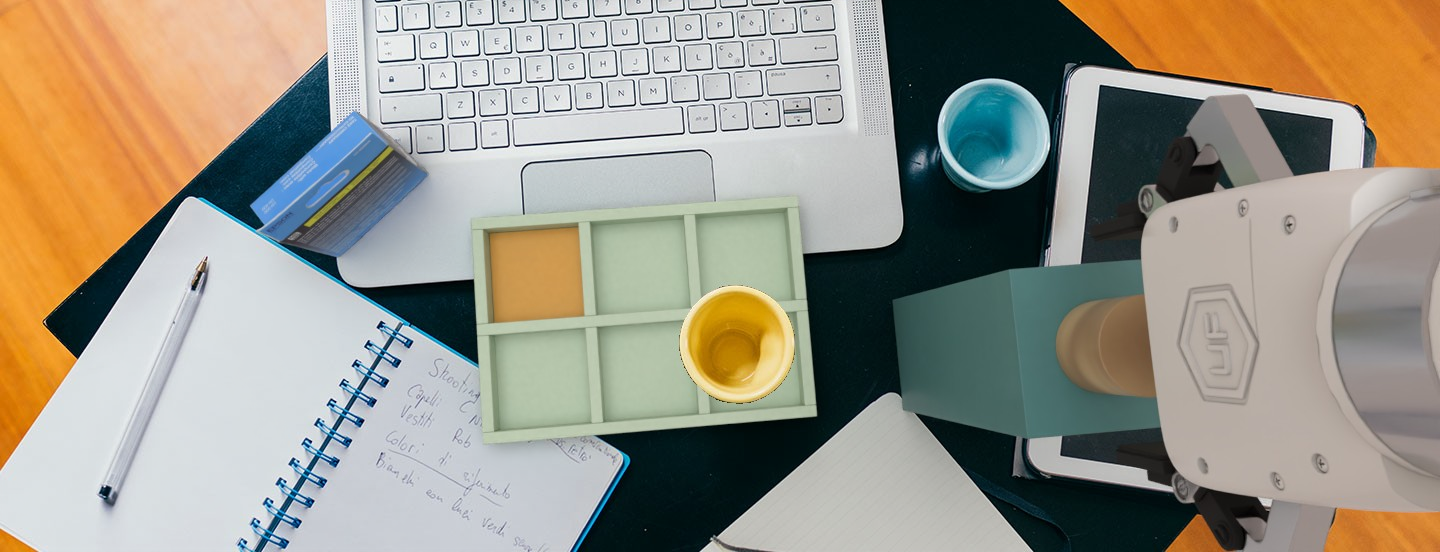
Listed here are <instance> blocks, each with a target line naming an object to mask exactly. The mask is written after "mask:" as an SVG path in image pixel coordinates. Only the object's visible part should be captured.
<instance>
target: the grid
mask: <svg viewBox="0 0 1440 552" xmlns="http://www.w3.org/2000/svg"><path fill="white" fill-rule="evenodd" d="M801 228H802V227H801V219H800V208H799V196H798V195H788V196H775V197H760V198H746V199H732V200H717V201H716V200H715V201H700V202H688V203H687V202H686V203H675V204H674V203H673V204H659V205H657V204H656V205H645V206H644V205H643V206H642V205H641V206H629V207H616V208H602V209H586V210H572V211H558V212H542V213H541V212H540V213H528V214H515V215H499V216H485V217H471V218H470V229H471V246H472V247H471V248H472V265H473V268H472V269H473V283H474V284H473V285H474V301H475V302H474V303H475V321H476V336H477V338H476V341H477V358H478V360H477V361H478V373H479V374H478V377H479V396H480V397H479V398H480V413H481V414H480V415H481V431H482V445H496V444H508V443H509V444H510V443H518V442H519V443H521V442H529V441H530V442H531V441H545V440H556V439H566V438H567V439H568V438H578V437H589V436H602V435H615V434H623V433H624V434H625V433H626V434H627V433H637V432H649V431H660V430H673V429H682V428H683V429H685V428H696V427H706V426H718V425H719V426H720V425H728V424H743V423H744V424H745V423H754V422H755V423H756V422H765V421H778V420H779V421H780V420H790V419H803V418H813V417H814V418H815V417H818V410H817V398H816V397H817V396H816V386H815V375H814V364H813V353H812V341H811V331H810V318H809V311H808V310H809V307H808V300H807V298H808V297H807V285H806V274H805V263H804V252H803V241H802V231H801V230H802V229H801ZM728 285H743V286H748V287H752V288H755V289H757V290H760V291H762V292H764V293H766V294H767V295H769V296H770V297H772V298H773V299H774V300H775V301H776V302H777V303H778V304H779V305H780V306H781V308H782V309H783V310H784V311H785V312H786V313H787V315H788V316H789V319H790V321H791V324H792V327H793V330H794V334H795V355H794V360H793V363H792V365H791V369H790V371H789V373H788V374H787V377H786V378H785V380H784V381H783V382H782V384H781V385H780V386H779V387H778V388H777V389H776V390H775V391H773V392H772V393H770V394H769V395H767V396H766V397H764V398H762V399H759V400H757V401H754V402H751V403H743V404H736V403H727V402H722V401H719V400H716V399H715V398H713V397H711V396H709V394H707V393H706V392H704V391H703V390H702V389H701V388H700V387H699V386H698V385H696V384H695V383H694V382H693V380H692V379H691V378H690V376H689V375H688V373H687V371H686V369H685V368H684V365H683V362H682V360H681V356H680V351H679V335H680V331H681V327H682V324H683V321H684V320H685V318H686V317H687V315H688V313H689V312H690V310H691V309H692V307H693V306H694V305H695V304H696V303H697V302H698V301H699V300H700V299H701V298H702V297H703V296H704V295H706V294H707V293H709V292H711V291H713V290H715V289H717V288H719V287H722V286H728Z"/></svg>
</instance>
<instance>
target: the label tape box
mask: <svg viewBox="0 0 1440 552" xmlns="http://www.w3.org/2000/svg"><path fill="white" fill-rule="evenodd" d="M428 175H429V172H428V171H427V170H426V169H425V168H424V167H423V166H422V164H420V162H418V161H417V160H416V159H415V158H414V157H413V156H412V155H411V154H410V153H409V152H408V151H407V150H406V149H405V148H404V147H403V146H402V145H401V144H400V143H399V142H398V141H397V140H396V139H394V138H393V137H392V136H391V135H390V134H388V133H387V132H385V131H384V130H383V129H382V128H380V126H379V125H376V124H375V123H373V122H372V121H371V120H370V119H368V118H367V117H366V116H364V115H363V114H362V113H360V112H359V111H357V110H353V111H352V112H350V113H349V114H348V115H347V116H346V117H345V118H344V119H343V120H342V121H341V122H340V123H339V124H338V125H336V127H334V128H333V129H332V130H331V131H330V132H329V133H328V134H327V135H326V136H325V137H324V138H322V139H321V140H320V141H319V142H318V143H316V145H315V146H314V147H312V148H311V150H309V151H308V152H306V154H304V156H303V157H302V158H300V159H299V160H298V161H297V162H296V163H295V164H293V165H292V167H290V168H289V169H288V170H287V171H286V172H285V173H284V174H282V176H280V177H279V178H278V179H277V180H276V181H275V182H274V183H273V184H272V185H271V186H270V187H268V188H267V189H266V190H265V191H264V192H263V193H262V194H260V196H258V197H257V198H256V199H255V200H254V201H253V202H252V203H250V204H249V207H250V208H251V209H252V211H253V212H254V213H255V215H256V216H257V217H258V218H259V220H260V222H261V223H262V224H263V226H262V227H260V228H258V229H255V233H257V234H259V235H263V236H265V237H267V238H269V239H272V240H274V241H276V242H277V243H280V244H284V245H290V246H294V247H297V248H301V249H305V250H309V251H312V252H316V253H320V254H323V255H327V256H330V257H334V258H339V257H341V256H342V255H343V254H345V252H347V251H348V250H349V249H350V248H351V247H352V246H354V245H355V243H357V242H358V241H359V240H360V239H361V238H362V237H363V236H364V235H365V234H367V233H368V232H369V230H371V229H372V228H373V227H374V226H376V224H377V223H378V222H379V221H381V219H382V218H384V217H385V216H386V215H387V214H388V213H389V212H391V210H392V209H393V208H395V207H396V206H397V205H398V204H399V203H400V202H401V201H402V200H403V199H404V198H406V196H407V195H408V194H409V193H410V192H411V191H412V190H413V189H415V188H416V187H417V186H418V185H419V184H420V183H421V182H422V181H423V180H424V179H426V177H427V176H428Z"/></svg>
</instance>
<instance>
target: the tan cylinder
mask: <svg viewBox="0 0 1440 552" xmlns="http://www.w3.org/2000/svg"><path fill="white" fill-rule="evenodd" d="M1056 354H1057V358H1058V361H1059V364H1060V366H1061V368H1062V370H1063V371H1064V373H1065V374H1066V376H1067V377H1068V378H1069V379H1070V380H1071V381H1072V382H1073V383H1074V384H1076V385H1077V386H1079V387H1080V388H1082V389H1084V390H1087V391H1089V392H1093V393H1100V394H1112V395H1123V396H1135V397H1147V398H1153V397H1157V395H1156V387H1155V380H1154V372H1153V364H1152V356H1151V347H1150V339H1149V331H1148V321H1147V312H1146V303H1145V294H1140V295H1133V296H1125V297H1118V298H1111V299H1103V300H1096V301H1089V302H1086V303H1083V304H1081V305H1079V306H1077V307H1075V308H1074V309H1073V310H1071V311H1070V312H1069V313H1068V314H1067V315H1066V316H1065V318H1064V319H1063V321H1062V322H1061V324H1060V326H1059V329H1058V332H1057V336H1056Z"/></svg>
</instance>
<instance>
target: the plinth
mask: <svg viewBox="0 0 1440 552" xmlns="http://www.w3.org/2000/svg"><path fill="white" fill-rule="evenodd" d="M1140 294H1144V285H1143V274H1142V262H1141V259H1129V260H1127V259H1126V260H1117V261H1115V260H1114V261H1102V262H1101V261H1100V262H1089V263H1077V264H1075V263H1073V264H1061V265H1049V266H1036V267H1034V266H1033V267H1024V268H1023V267H1021V268H1010V269H1005V270H1002V271H998V272H994V273H991V274H987V275H983V276H979V277H975V278H971V279H967V280H964V281H959V282H956V283H952V284H948V285H944V286H941V287H937V288H933V289H930V290H925V291H921V292H917V293H914V294H910V295H907V296H901V297H899V298H895V299H892V311H893V321H894V331H895V340H896V351H897V361H898V362H897V363H898V372H899V383H900V391H901V401H902V402H901V403H902V410H903V411H905V412H910V413H914V414H919V415H922V416H927V417H931V418H936V419H939V420H944V421H948V422H953V423H957V424H960V425H961V424H962V425H965V426H966V425H967V426H969V427H970V426H971V427H974V428H979V429H984V430H988V431H992V432H996V433H1001V434H1006V435H1008V436H1014V437H1018V438H1022V439H1025V440H1026V439H1027V440H1031V439H1043V438H1044V439H1045V438H1055V437H1067V436H1079V435H1089V434H1101V433H1113V432H1123V431H1133V430H1146V429H1147V430H1148V429H1156V428H1161V424H1160V417H1159V410H1158V403H1157V397H1153V398H1147V397H1135V396H1123V395H1112V394H1100V393H1093V392H1089V391H1087V390H1084V389H1082V388H1080V387H1079V386H1077V385H1076V384H1074V383H1073V382H1072V381H1071V380H1070V379H1069V378H1068V377H1067V376H1066V374H1065V373H1064V371H1063V370H1062V368H1061V366H1060V364H1059V361H1058V358H1057V354H1056V336H1057V332H1058V329H1059V326H1060V324H1061V322H1062V321H1063V319H1064V318H1065V316H1066V315H1067V314H1068V313H1069V312H1070V311H1071V310H1073V309H1074V308H1075V307H1077V306H1079V305H1081V304H1083V303H1086V302H1089V301H1096V300H1103V299H1111V298H1118V297H1125V296H1133V295H1140Z"/></svg>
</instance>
